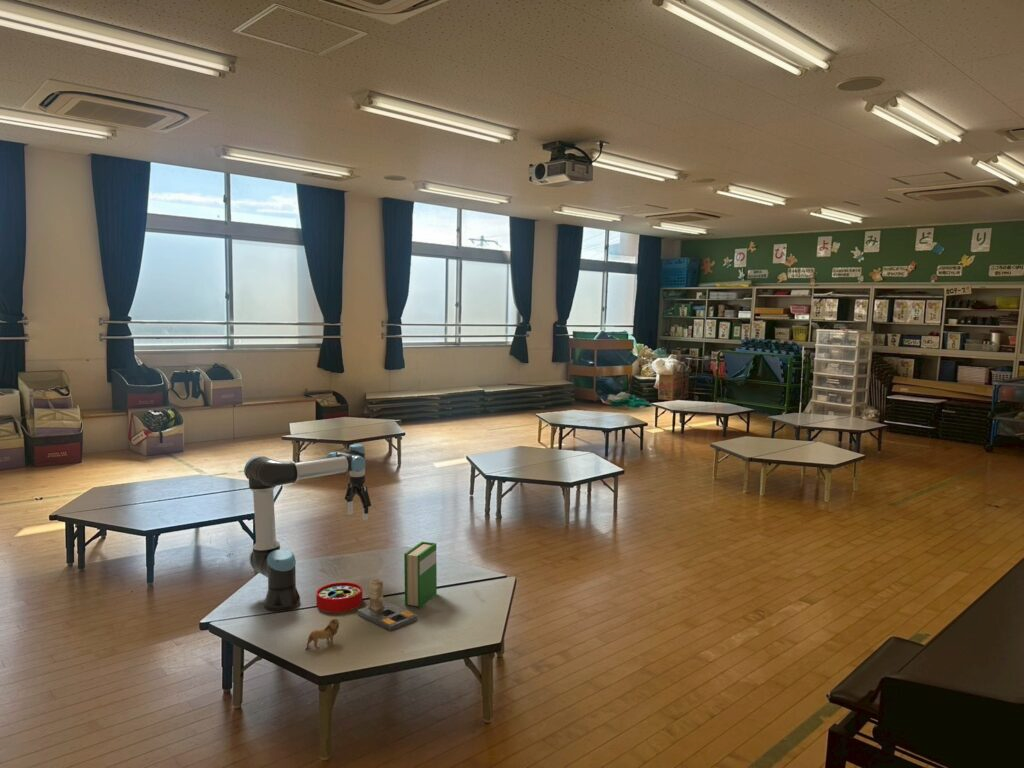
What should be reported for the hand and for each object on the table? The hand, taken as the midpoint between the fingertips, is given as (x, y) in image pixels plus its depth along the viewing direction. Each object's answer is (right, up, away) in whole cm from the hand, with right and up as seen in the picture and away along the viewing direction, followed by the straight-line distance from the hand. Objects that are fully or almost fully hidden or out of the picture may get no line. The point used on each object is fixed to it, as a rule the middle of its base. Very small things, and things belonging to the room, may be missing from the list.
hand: (357, 517), depth 346 cm
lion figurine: (+4, -35, -78) cm, 85 cm away
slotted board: (+24, -33, -53) cm, 67 cm away
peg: (+19, -32, -48) cm, 60 cm away
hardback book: (+36, -31, -34) cm, 59 cm away
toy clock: (0, -32, -38) cm, 49 cm away
